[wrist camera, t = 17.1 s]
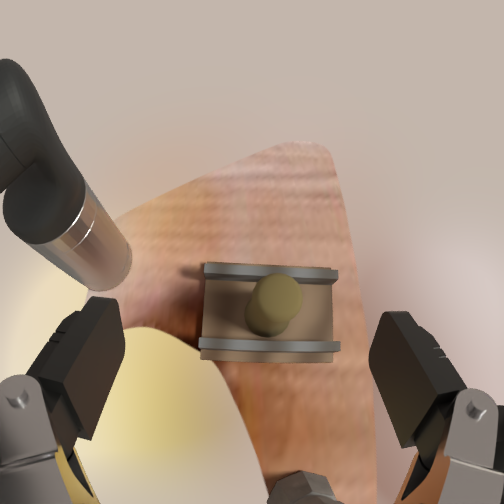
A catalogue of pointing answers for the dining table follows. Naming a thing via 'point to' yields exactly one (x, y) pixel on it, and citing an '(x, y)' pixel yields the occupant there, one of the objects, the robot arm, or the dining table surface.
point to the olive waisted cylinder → (273, 305)
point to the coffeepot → (303, 490)
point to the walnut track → (256, 347)
